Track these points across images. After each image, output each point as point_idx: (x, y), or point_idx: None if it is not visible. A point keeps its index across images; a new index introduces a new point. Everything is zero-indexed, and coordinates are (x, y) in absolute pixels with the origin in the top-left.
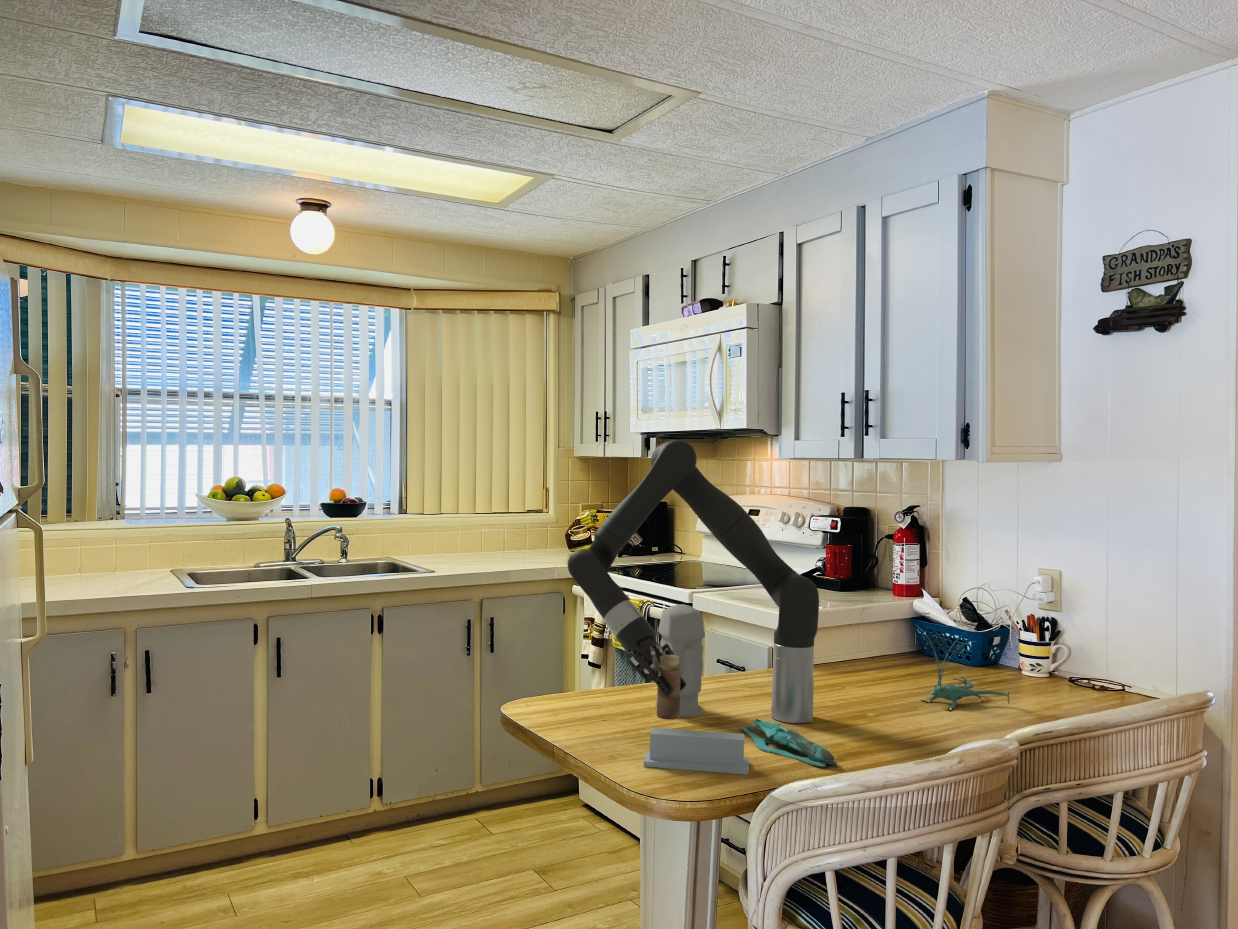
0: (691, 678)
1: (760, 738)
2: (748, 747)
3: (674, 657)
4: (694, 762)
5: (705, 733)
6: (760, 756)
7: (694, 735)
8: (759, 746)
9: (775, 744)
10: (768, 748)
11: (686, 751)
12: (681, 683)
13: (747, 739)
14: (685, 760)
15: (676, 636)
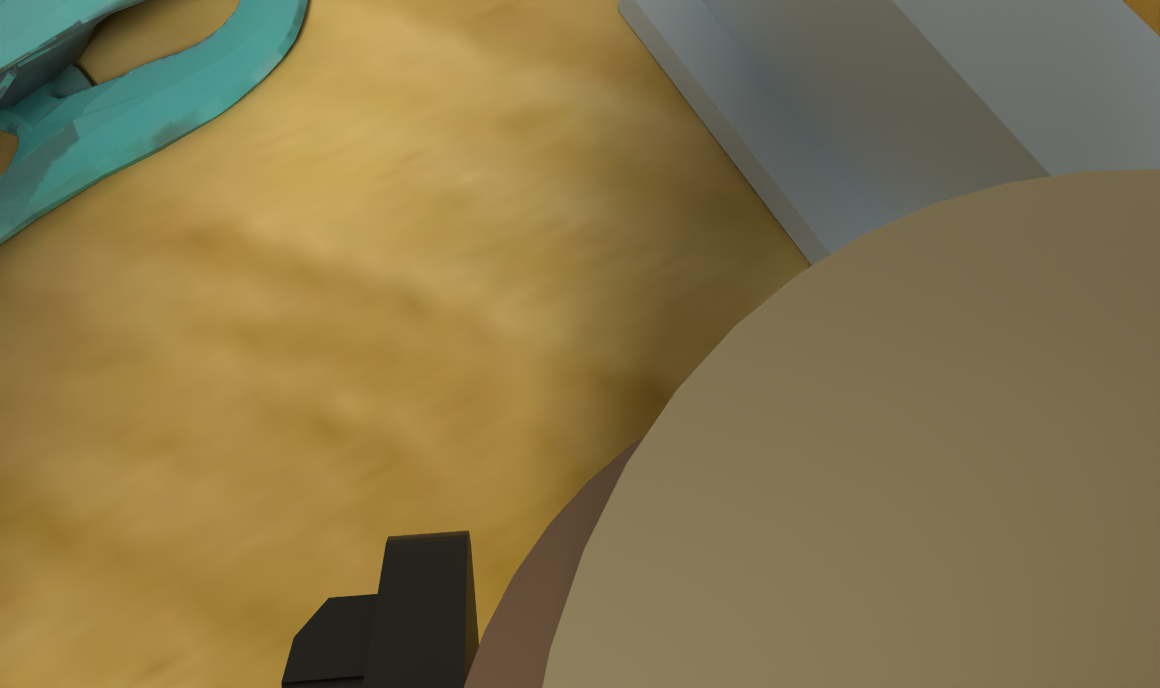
0: None
1: (74, 119)
2: (278, 153)
3: (1158, 431)
4: None
5: (1002, 26)
6: (426, 10)
7: (1147, 66)
8: (256, 67)
9: (91, 31)
10: (267, 1)
11: None
12: (472, 617)
13: (63, 251)
14: None
15: None
